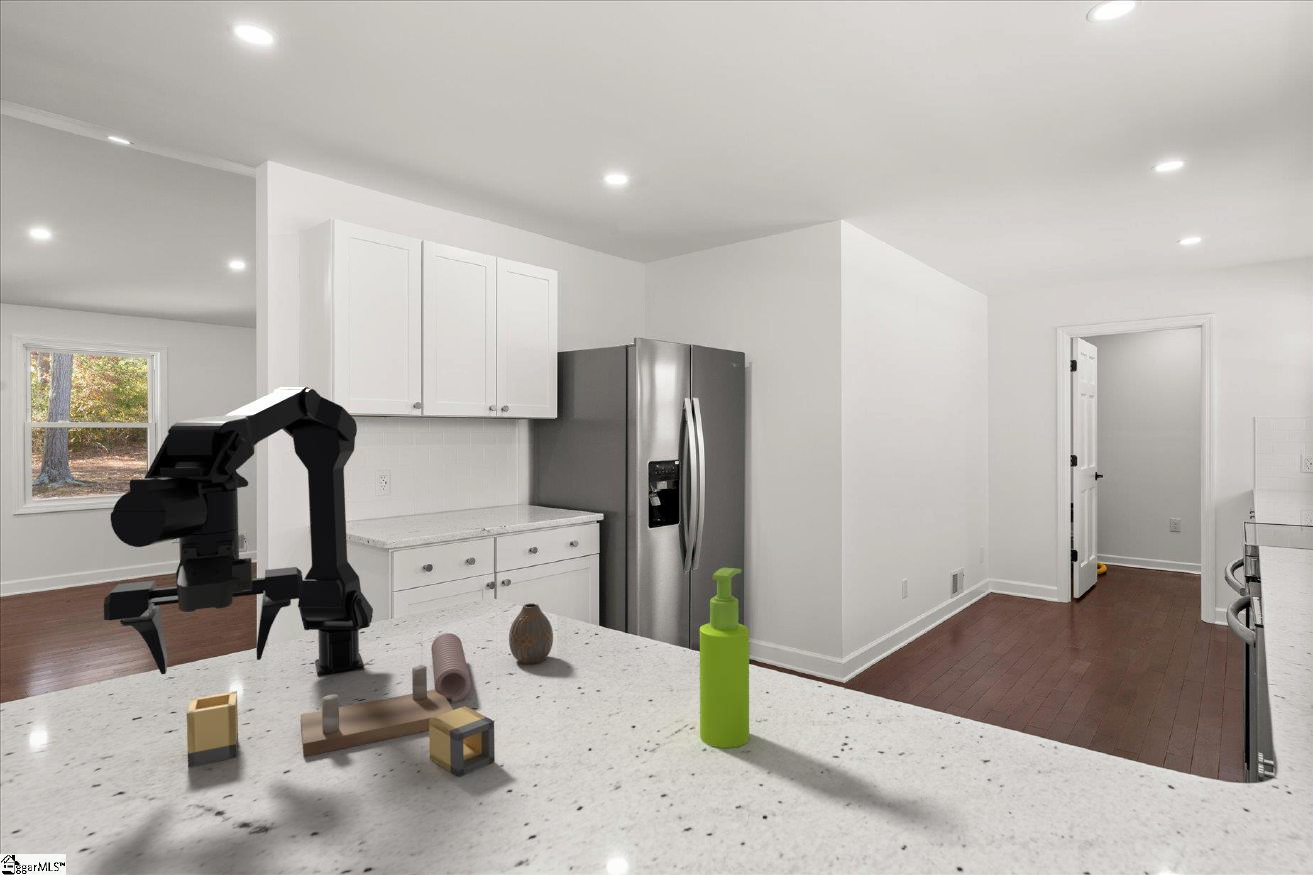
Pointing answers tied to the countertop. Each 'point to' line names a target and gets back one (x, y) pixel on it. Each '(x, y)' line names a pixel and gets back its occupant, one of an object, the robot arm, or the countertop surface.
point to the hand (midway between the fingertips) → (212, 665)
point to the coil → (450, 667)
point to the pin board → (371, 718)
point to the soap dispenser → (724, 670)
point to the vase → (531, 635)
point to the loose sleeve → (212, 728)
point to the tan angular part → (461, 740)
